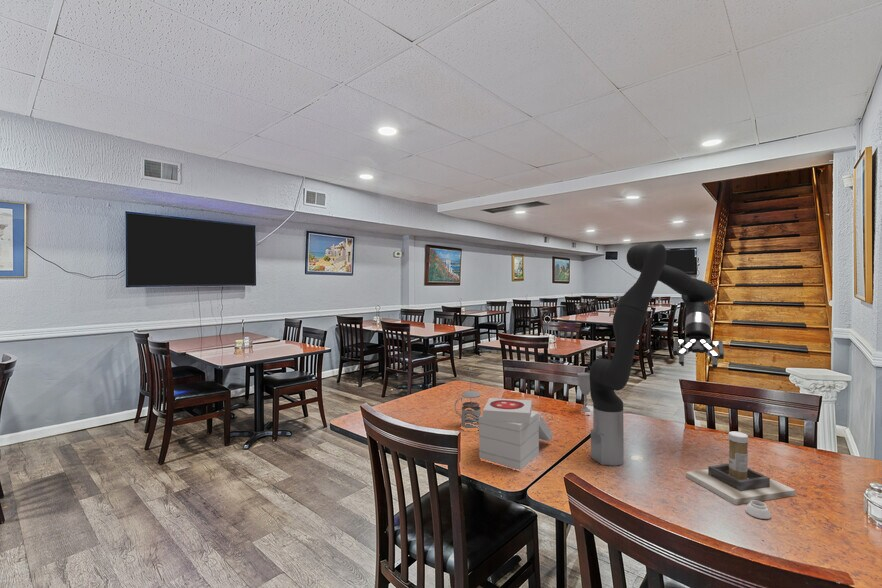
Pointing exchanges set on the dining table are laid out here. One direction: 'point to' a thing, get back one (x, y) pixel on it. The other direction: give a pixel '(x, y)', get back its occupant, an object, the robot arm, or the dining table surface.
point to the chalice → (584, 388)
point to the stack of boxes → (511, 432)
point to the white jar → (758, 510)
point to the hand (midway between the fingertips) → (697, 366)
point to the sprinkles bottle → (738, 455)
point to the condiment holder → (739, 485)
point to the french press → (470, 405)
